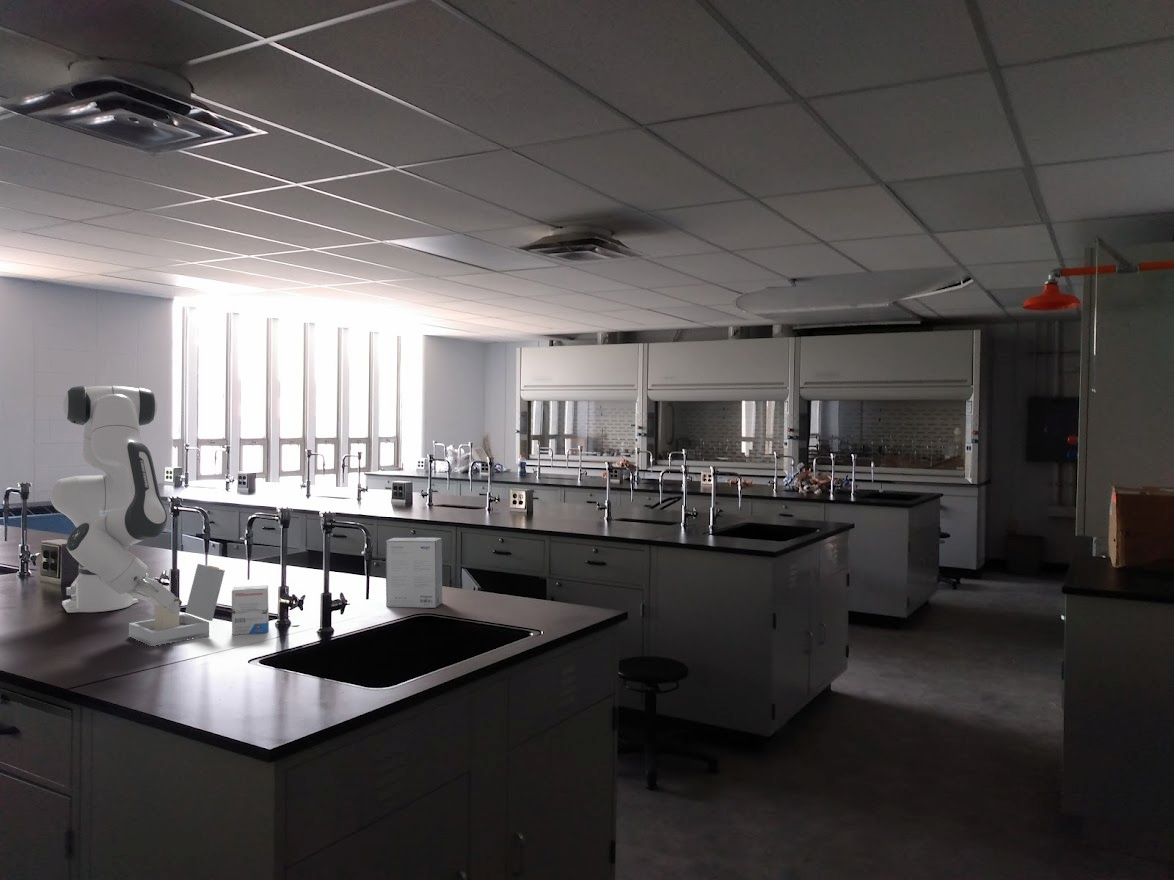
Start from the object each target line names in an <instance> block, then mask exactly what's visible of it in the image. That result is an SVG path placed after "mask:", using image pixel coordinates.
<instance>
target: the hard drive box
mask: <svg viewBox="0 0 1174 880" xmlns="http://www.w3.org/2000/svg"><path fill="white" fill-rule="evenodd" d="M442 540H443V539H442V537H392V538H389V539H387V540H385V598H386V600H385V601H386V603H385V604H386V607H387V608H419V609H423V608H424V609H427V608H428V609H429V608H431V609H432V608H437V607H439V606H440V605H441V604H443V549H442V548H443V541H442Z"/></svg>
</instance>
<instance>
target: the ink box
mask: <svg viewBox="0 0 1174 880" xmlns="http://www.w3.org/2000/svg"><path fill="white" fill-rule="evenodd" d="M269 619H270V618H269V585H268V584H264V585H248V586H246V585H245V586H244V585H243V586H234V587H233V589H232V590H231V635H233V636H234V635H236V636H237V635H239V634H240V635H253V633H256V634H267V633H268V631H269V629H270V628H269V626H270V625H269V622H270V621H269ZM266 632H267V633H266Z"/></svg>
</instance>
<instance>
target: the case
mask: <svg viewBox="0 0 1174 880" xmlns="http://www.w3.org/2000/svg"><path fill="white" fill-rule="evenodd" d="M203 636H206V637H210V621H208V620H205V619H202V618H199V617H197V616H194V615H191V614H188V613H187V614H186V613H183V614H179V627H175V628H169V629H164V630H158V631H155V618H153V619H147V620H140V621H133V622H129V623H128V637H129V638H130V637H132V638H134V639H136V640H135V641H137V640H138V641H137V642H139V641H141V642H143V643H145V644H144V645H146V644H147V645H146V646H148V645H149V646H148V647H150V646H154V647H157V646H156V645H159V646H162V645H161V644H165V645H167V644H166V643H170V644H173V643H172V642H175V643H177V642H176V641H180V642H183V641H182V640H185V641H188V640H187V639H191V640H193V639H192V638H196V639H198V638H197V637H201V638H204V637H203ZM132 638H131V639H132ZM134 639H133V640H134ZM141 642H140V643H141ZM143 643H142V644H143Z"/></svg>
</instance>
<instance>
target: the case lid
mask: <svg viewBox="0 0 1174 880" xmlns="http://www.w3.org/2000/svg"><path fill="white" fill-rule="evenodd" d="M225 571H226V570H224V569H220V568H219V567H217V566H213V565H206V564H202V563H197V565H196V569H195V573H194V576H193V581H192V584H191V588H190V592H189V597H188V600H187V605H186V608H185V612H184V613H185V614H186V613H187V614H188V615H190V616H193V617H196V618H199V619H202V620H205V621H207V622H213V618H214V615H215V612H216V611H215V610H216V608H217V603H218V599H219V596H220V591H221V586H222V583H223V579H224V576H225Z"/></svg>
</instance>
